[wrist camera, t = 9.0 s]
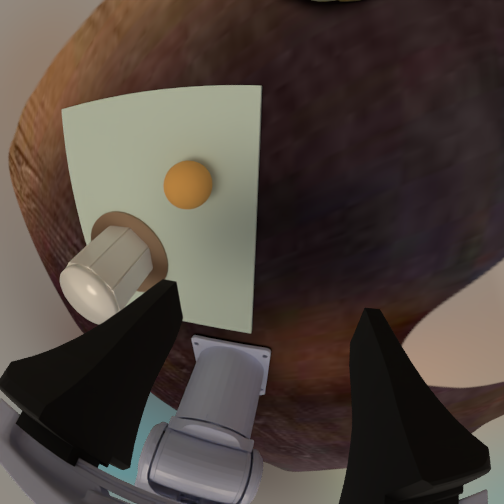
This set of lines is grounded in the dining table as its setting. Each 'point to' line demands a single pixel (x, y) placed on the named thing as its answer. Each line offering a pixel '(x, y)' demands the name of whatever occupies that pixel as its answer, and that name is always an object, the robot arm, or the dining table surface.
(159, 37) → the dining table surface
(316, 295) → the dining table surface
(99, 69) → the dining table surface
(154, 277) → the coaster
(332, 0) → the seashell
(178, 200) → the ball
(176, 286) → the robot arm
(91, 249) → the cup
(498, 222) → the dining table surface
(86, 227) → the placemat
